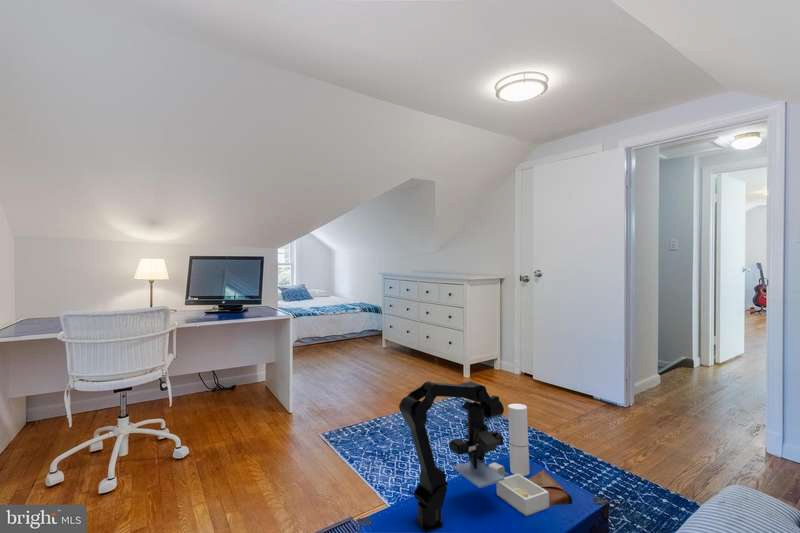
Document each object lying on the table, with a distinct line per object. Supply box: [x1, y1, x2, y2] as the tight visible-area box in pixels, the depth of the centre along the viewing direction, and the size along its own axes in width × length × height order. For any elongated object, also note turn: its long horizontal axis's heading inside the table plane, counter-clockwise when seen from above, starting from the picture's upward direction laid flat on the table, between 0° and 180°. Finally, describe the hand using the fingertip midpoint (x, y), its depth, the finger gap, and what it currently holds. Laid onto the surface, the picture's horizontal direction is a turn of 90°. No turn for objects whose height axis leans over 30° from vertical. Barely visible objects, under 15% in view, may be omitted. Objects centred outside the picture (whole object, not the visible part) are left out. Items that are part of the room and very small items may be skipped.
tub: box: [495, 474, 550, 517], centre depth 129 cm, size 10×14×5 cm
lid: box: [452, 458, 505, 489], centre depth 128 cm, size 10×14×6 cm
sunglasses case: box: [527, 469, 573, 507], centre depth 135 cm, size 18×7×7 cm
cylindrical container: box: [507, 403, 530, 477], centre depth 150 cm, size 7×7×25 cm
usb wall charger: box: [487, 462, 509, 478], centre depth 145 cm, size 4×7×4 cm, turn 36°
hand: (477, 468), depth 128 cm, fingers closed on lid
